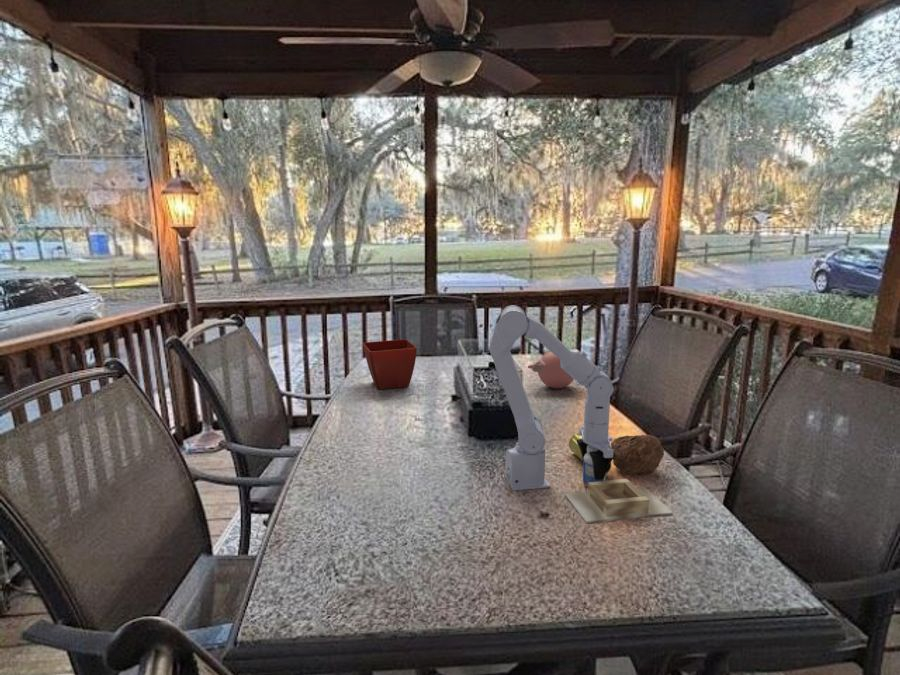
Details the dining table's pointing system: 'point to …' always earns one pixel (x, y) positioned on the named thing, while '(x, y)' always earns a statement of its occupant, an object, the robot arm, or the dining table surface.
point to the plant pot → (390, 362)
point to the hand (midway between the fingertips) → (593, 473)
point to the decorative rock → (637, 453)
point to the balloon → (551, 371)
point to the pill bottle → (589, 467)
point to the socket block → (615, 502)
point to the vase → (575, 448)
